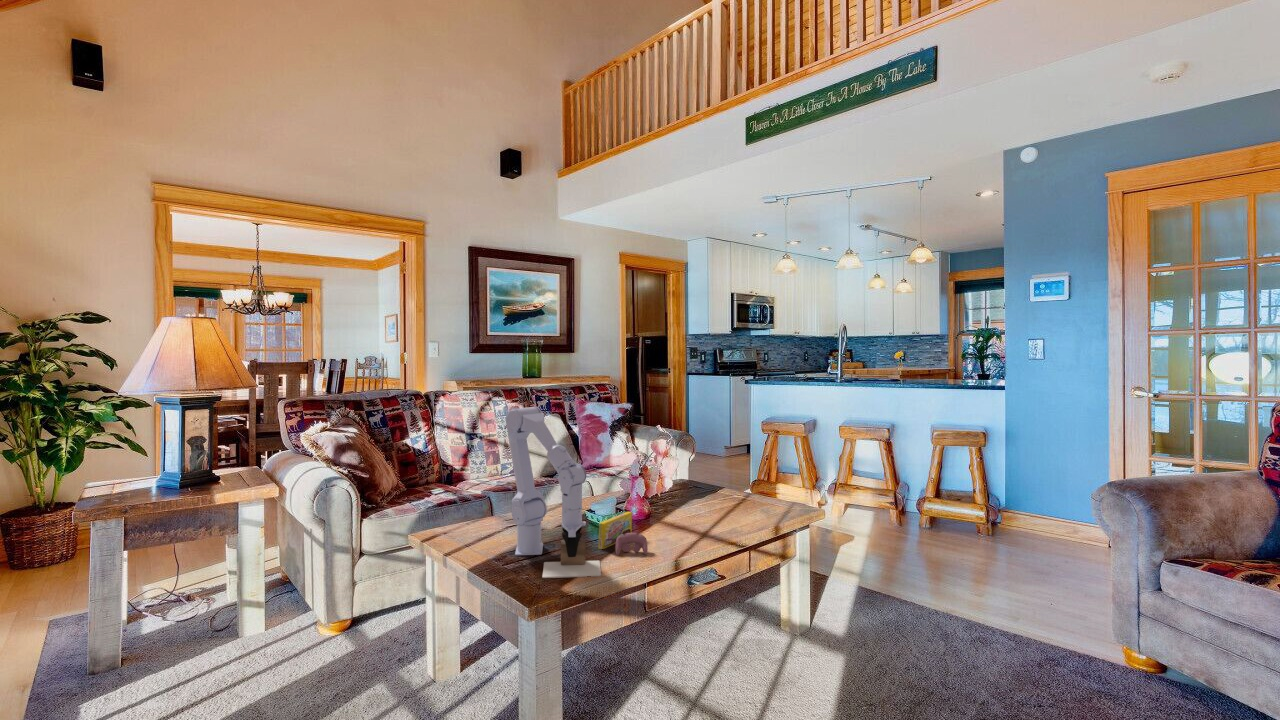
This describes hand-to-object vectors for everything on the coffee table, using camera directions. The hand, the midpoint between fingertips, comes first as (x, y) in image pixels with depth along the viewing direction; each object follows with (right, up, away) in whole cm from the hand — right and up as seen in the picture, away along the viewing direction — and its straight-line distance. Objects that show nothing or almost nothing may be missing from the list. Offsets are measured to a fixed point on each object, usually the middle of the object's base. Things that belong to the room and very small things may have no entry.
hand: (571, 554), depth 177 cm
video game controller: (+17, -3, +10) cm, 20 cm away
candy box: (+12, -3, +20) cm, 23 cm away
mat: (0, -3, -4) cm, 5 cm away
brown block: (0, -2, 0) cm, 2 cm away
